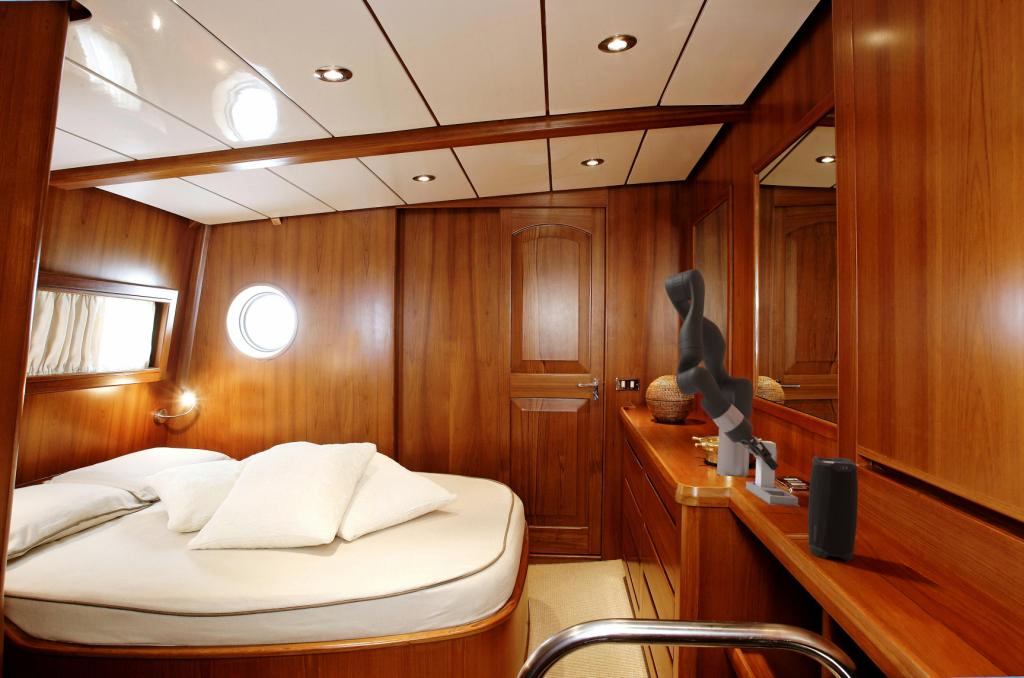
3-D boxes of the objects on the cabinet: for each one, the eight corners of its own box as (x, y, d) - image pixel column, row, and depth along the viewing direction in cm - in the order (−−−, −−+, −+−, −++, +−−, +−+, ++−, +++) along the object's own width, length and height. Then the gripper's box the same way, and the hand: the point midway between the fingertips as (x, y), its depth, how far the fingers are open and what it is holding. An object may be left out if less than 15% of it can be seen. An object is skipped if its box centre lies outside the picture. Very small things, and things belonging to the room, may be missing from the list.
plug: (770, 485, 161) (772, 441, 162) (776, 488, 158) (778, 443, 158) (755, 484, 162) (757, 440, 162) (760, 487, 158) (762, 442, 158)
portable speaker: (839, 548, 117) (844, 456, 117) (864, 565, 107) (869, 465, 108) (798, 545, 117) (802, 453, 118) (819, 561, 108) (824, 462, 108)
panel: (770, 492, 164) (771, 482, 164) (800, 510, 146) (800, 498, 146) (743, 490, 164) (744, 480, 164) (769, 508, 146) (770, 496, 146)
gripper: (751, 417, 153) (793, 463, 153) (732, 411, 167) (771, 453, 167) (731, 435, 153) (773, 481, 153) (714, 427, 167) (753, 469, 167)
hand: (772, 466), depth 160 cm, fingers closed on plug, 3 cm apart
